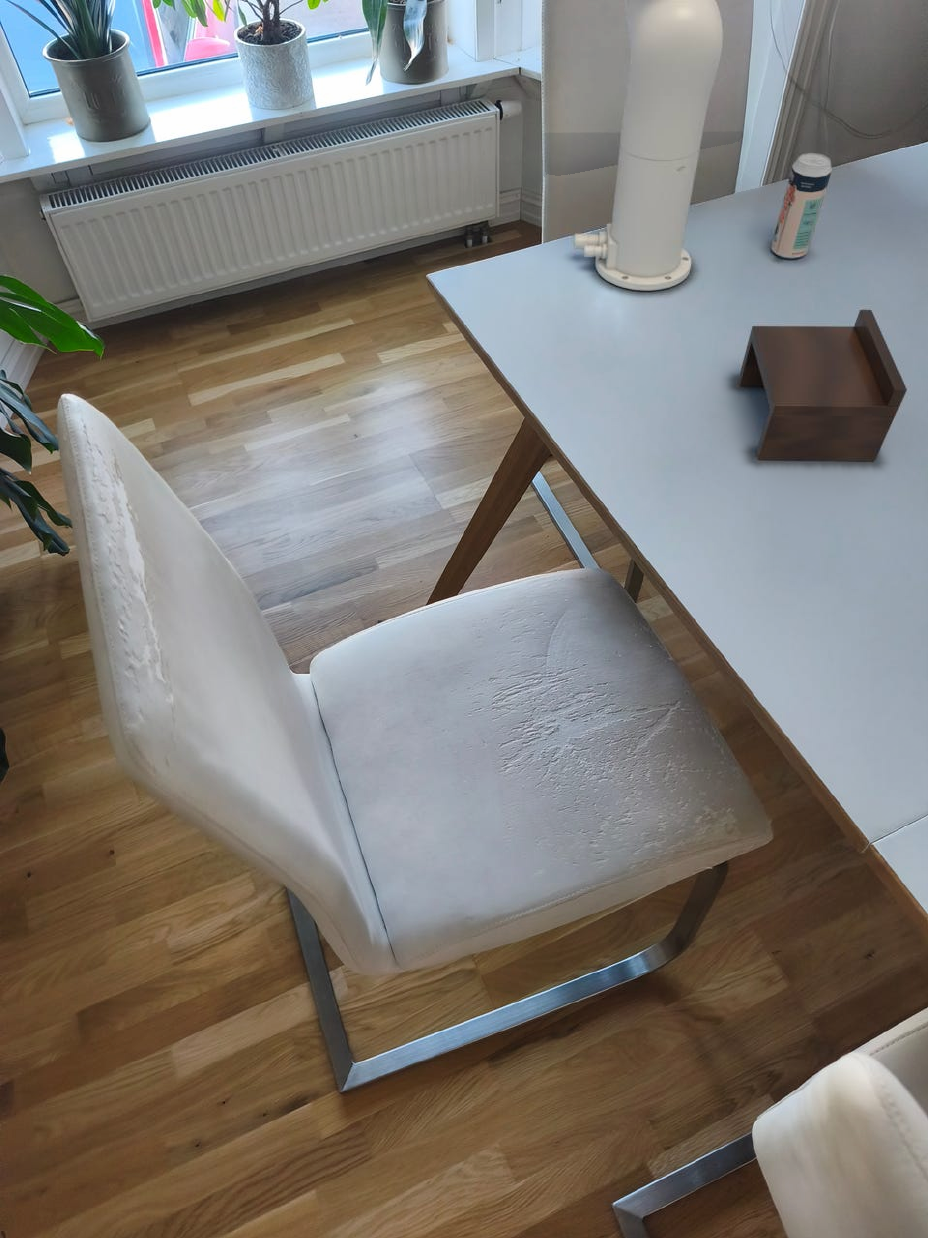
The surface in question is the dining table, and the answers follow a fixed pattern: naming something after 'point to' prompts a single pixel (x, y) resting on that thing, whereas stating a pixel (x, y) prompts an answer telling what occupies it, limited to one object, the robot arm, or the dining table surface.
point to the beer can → (801, 205)
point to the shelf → (824, 390)
